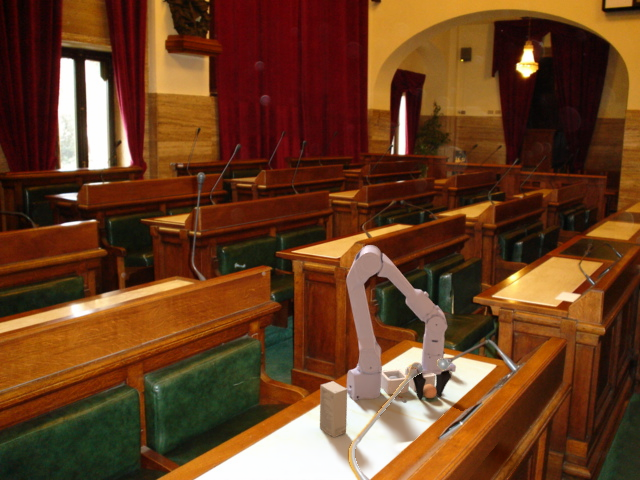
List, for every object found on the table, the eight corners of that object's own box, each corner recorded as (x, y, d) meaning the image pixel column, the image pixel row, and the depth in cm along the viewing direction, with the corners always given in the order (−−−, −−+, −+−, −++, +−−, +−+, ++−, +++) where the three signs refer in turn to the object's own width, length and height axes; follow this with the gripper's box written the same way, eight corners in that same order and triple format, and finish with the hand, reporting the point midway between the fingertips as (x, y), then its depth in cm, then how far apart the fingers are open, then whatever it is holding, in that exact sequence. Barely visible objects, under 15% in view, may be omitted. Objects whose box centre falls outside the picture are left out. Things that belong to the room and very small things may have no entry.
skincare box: (346, 433, 161) (348, 389, 158) (332, 438, 158) (335, 393, 156) (331, 422, 166) (333, 380, 163) (318, 427, 163) (319, 384, 160)
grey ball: (389, 392, 182) (390, 380, 181) (384, 386, 185) (385, 374, 184) (402, 391, 183) (403, 378, 182) (396, 385, 187) (397, 372, 186)
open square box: (387, 395, 180) (388, 380, 179) (378, 385, 186) (379, 371, 185) (408, 392, 182) (409, 378, 181) (398, 383, 188) (399, 369, 187)
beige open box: (414, 392, 183) (415, 377, 182) (404, 382, 189) (405, 368, 188) (434, 389, 185) (435, 375, 184) (424, 380, 191) (425, 366, 190)
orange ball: (425, 401, 176) (427, 388, 176) (419, 395, 180) (420, 382, 179) (438, 400, 178) (439, 387, 177) (431, 393, 181) (432, 381, 181)
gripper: (416, 359, 170) (412, 405, 173) (462, 355, 174) (458, 399, 177) (404, 349, 176) (401, 394, 179) (450, 345, 181) (446, 389, 184)
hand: (429, 396), depth 179 cm, fingers open, 5 cm apart
